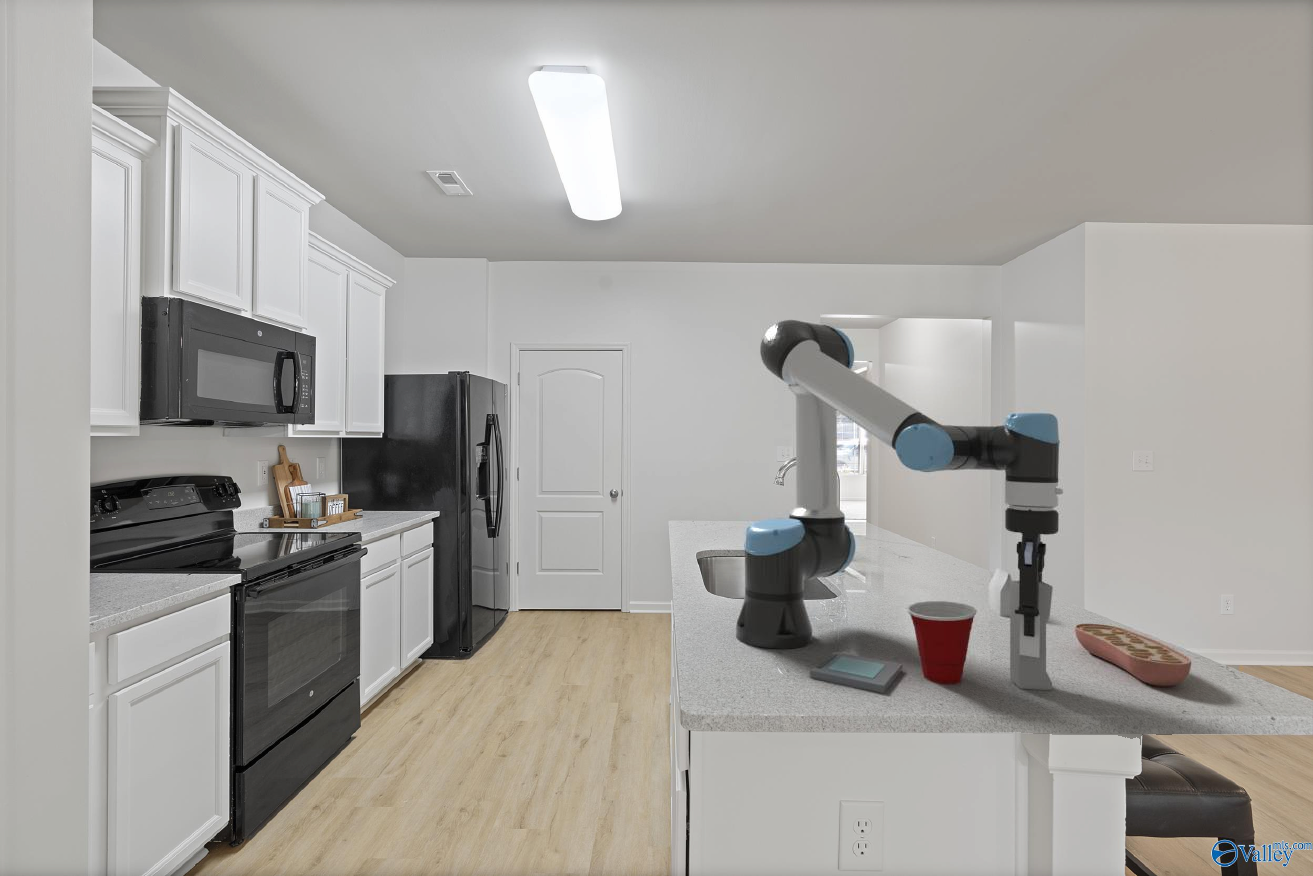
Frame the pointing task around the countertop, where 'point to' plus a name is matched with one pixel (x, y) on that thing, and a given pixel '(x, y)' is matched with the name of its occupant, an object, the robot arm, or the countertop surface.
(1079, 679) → the countertop surface
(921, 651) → the plastic cup
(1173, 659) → the anatomical model
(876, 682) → the pad
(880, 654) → the countertop surface
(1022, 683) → the vintage mobile phone
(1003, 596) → the white house shaped block
